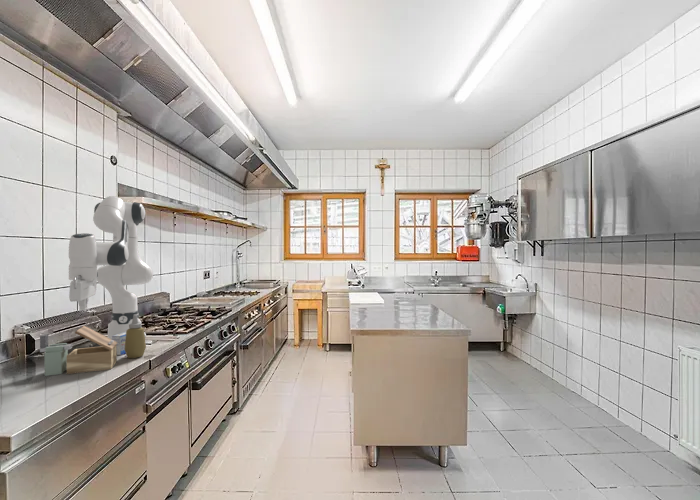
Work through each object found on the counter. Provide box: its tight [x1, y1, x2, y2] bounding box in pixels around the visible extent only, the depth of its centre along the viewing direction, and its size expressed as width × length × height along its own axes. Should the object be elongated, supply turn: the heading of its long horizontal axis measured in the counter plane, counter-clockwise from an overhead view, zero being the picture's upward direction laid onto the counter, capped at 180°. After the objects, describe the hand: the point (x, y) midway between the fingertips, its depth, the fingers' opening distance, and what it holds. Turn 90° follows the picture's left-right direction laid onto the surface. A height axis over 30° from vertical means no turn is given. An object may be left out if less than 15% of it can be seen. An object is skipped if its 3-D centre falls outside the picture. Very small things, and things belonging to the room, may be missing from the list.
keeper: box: [44, 342, 69, 377], centre depth 133 cm, size 7×5×10 cm
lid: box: [74, 325, 118, 350], centre depth 138 cm, size 10×14×1 cm
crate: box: [66, 345, 118, 375], centre depth 138 cm, size 10×14×7 cm
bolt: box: [39, 334, 73, 353], centre depth 133 cm, size 3×9×6 cm, turn 113°
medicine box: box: [112, 332, 126, 356], centre depth 158 cm, size 8×4×9 cm, turn 168°
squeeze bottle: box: [124, 315, 147, 359], centre depth 152 cm, size 8×8×18 cm
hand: (83, 309), depth 137 cm, fingers closed
